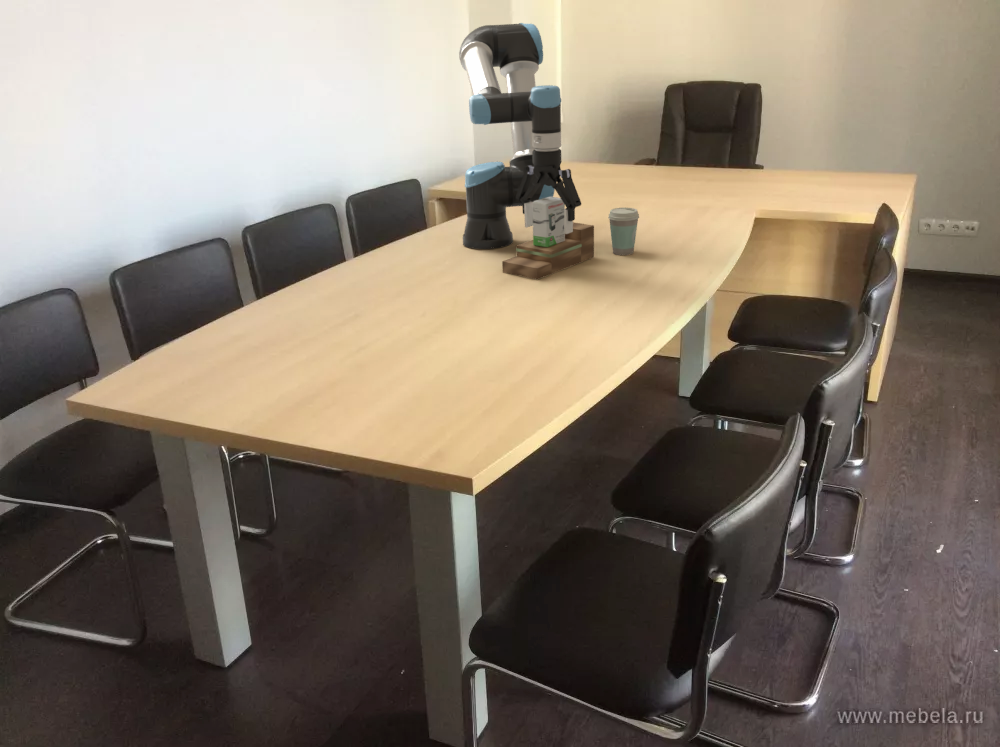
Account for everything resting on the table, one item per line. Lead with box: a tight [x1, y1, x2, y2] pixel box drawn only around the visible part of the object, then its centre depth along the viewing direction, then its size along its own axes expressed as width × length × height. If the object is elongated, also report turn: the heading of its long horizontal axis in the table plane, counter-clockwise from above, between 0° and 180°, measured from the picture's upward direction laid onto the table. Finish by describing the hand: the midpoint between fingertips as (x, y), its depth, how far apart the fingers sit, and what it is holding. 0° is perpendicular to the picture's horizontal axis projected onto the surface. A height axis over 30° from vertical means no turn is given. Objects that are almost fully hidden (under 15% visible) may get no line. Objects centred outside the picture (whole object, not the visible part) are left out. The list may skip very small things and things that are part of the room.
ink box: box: [532, 196, 566, 247], centre depth 225 cm, size 9×5×12 cm, turn 140°
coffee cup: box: [608, 207, 640, 256], centre depth 236 cm, size 9×9×12 cm
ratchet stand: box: [501, 221, 595, 280], centre depth 228 cm, size 12×25×9 cm, turn 138°
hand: (548, 229), depth 226 cm, fingers open, 13 cm apart
